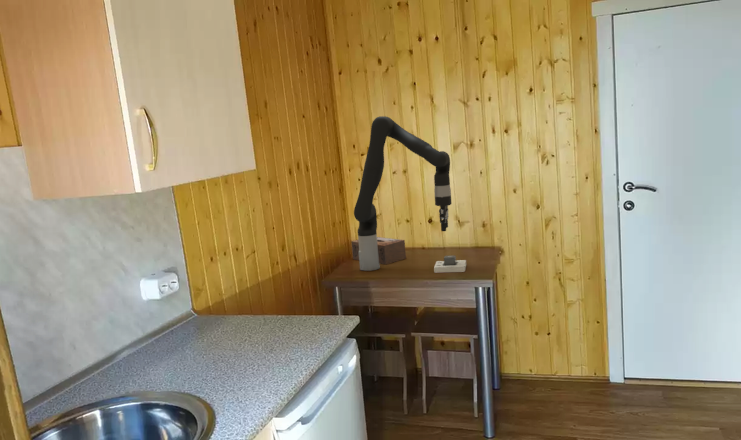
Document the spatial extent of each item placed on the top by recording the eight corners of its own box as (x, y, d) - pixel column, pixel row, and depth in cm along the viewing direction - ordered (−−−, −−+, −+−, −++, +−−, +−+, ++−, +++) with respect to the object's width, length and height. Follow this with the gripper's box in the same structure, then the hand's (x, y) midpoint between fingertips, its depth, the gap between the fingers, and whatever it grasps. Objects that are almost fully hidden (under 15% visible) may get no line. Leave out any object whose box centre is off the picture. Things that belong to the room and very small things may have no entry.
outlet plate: (434, 272, 269) (433, 267, 268) (437, 266, 280) (436, 261, 280) (464, 271, 266) (464, 266, 265) (466, 265, 277) (466, 259, 277)
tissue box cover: (406, 258, 303) (404, 240, 302) (386, 264, 294) (384, 245, 292) (372, 253, 322) (371, 236, 321) (353, 259, 313) (351, 241, 311)
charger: (444, 270, 272) (443, 257, 271) (445, 268, 276) (444, 255, 275) (455, 270, 270) (454, 257, 270) (456, 267, 274) (455, 255, 273)
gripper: (436, 193, 276) (438, 226, 279) (432, 197, 263) (434, 232, 265) (452, 192, 275) (454, 226, 277) (449, 196, 261) (451, 232, 264)
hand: (444, 229), depth 271 cm, fingers open, 8 cm apart
